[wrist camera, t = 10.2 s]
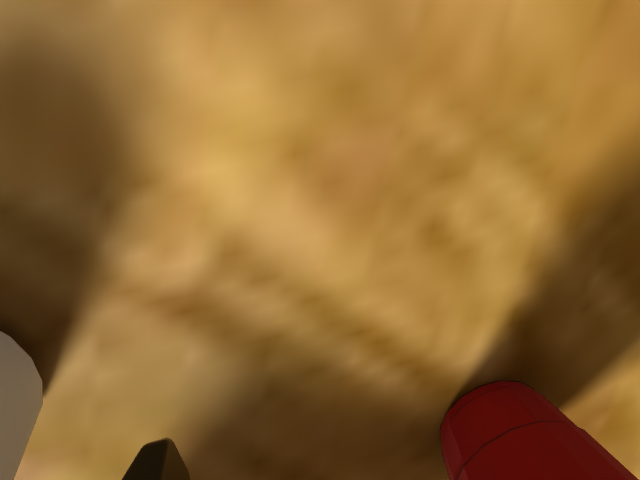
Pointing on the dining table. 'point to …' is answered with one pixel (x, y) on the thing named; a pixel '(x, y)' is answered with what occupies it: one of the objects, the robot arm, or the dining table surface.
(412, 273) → the dining table surface
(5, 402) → the can
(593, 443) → the plastic cup
